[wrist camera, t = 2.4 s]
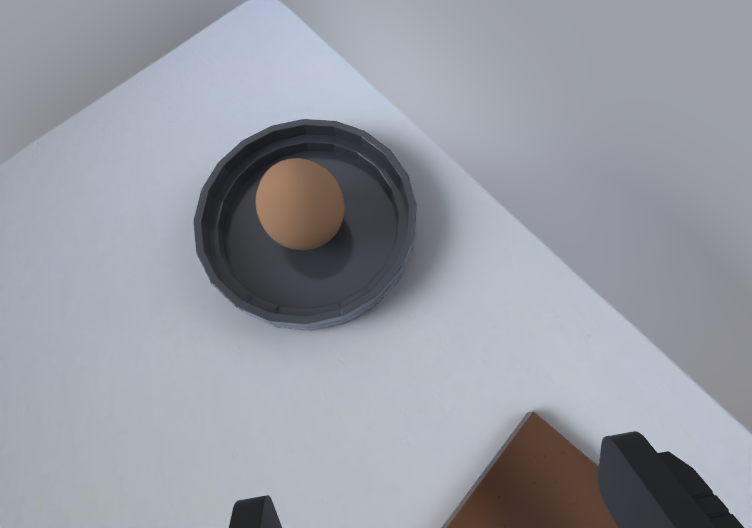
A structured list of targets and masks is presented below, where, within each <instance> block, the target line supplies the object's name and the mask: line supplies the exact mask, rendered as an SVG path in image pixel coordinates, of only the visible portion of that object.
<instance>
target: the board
mask: <svg viewBox="0 0 752 528" xmlns="http://www.w3.org/2000/svg"><path fill="white" fill-rule="evenodd" d="M598 471H599V466H597V465H596V464H595V463H594V462H593V461H592V460H590V459H589V458H588V457H587V456H586V455H584V454H583V453H582V452H581V451H580V450H578V449H577V448H576V447H575V446H574V445H572V444H571V443H570V442H569V441H568V440H567V439H565V438H564V437H563V436H562V435H561V434H559V433H558V432H557V431H556V430H555V429H553V428H552V427H551V426H550V425H549V424H547V423H546V422H545V421H544V420H543V419H542V418H540V417H539V416H538V415H537V414H536V413H534V412H528V413H527V414H526V416H525V417H524V418H523V420H522V421H521V422H520V424H519V425H518V426H517V428H516V429H515V430H514V432H513V433H512V434H511V436H510V437H509V438H508V440H507V441H506V442H505V444H504V445H503V446H502V448H501V449H500V450H499V452H498V453H497V454H496V456H495V457H494V458H493V460H492V461H491V462H490V464H489V465H488V466H487V468H486V469H485V470H484V472H483V473H482V474H481V476H480V477H479V478H478V480H477V481H476V483H475V484H474V485H473V487H472V488H471V489H470V491H469V492H468V493H467V495H466V496H465V497H464V499H463V500H462V501H461V503H460V504H459V505H458V507H457V508H456V509H455V511H454V512H453V513H452V515H451V516H450V517H449V519H448V520H447V521H446V523H445V524H444V525H443V527H442V528H619V527H618V526H617V524H616V522H615V521H614V519H613V517H612V516H611V514H610V512H609V511H608V509H607V507H606V505H605V503H604V501H603V499H602V496H601V494H600V490H599V486H598Z"/></svg>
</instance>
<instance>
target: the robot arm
mask: <svg viewBox="0 0 752 528" xmlns="http://www.w3.org/2000/svg"><path fill="white" fill-rule="evenodd" d="M598 486H599V490H600V494H601V496H602V499H603V501H604V503H605V505H606V507H607V509H608V511H609V512H610V514H611V516H612V517H613V519H614V521H615V522H616V524H617V526H618V527H619V528H744V527H743V526H742V525H741V523H740V522H739V521H738V520H737V519H736V518H735V516H734V515H733V514H732V515H731V514H730V513H729V511H728V510H729V509H728V508H727V507H726V506H725V505H724V504H723V502H722V501H721V500H720V499H719V498H718V497H717V496H716V495H714V494H713V492H712V490H711V489H710V487H709V486H708V485H707V484H706V483H705V482H704V480H703V479H702V478H701V477H700V476H699V475H698V473H697V472H696V471H695V470H694V469H693V468H692V467H690V466H689V465H687V464H686V463H685V462H683V461H682V460H680V459H679V458H677V457H676V456H674V455H673V454H672V453H670V452H669V451H668V452H662V453H657V452H656V451H655V450H654V448H653V447H652V446H651V445H650V443H649V442H648V441H647V440H646V438H645V437H644V436H643V435H642V434H640V433H639V432H636V431H634V432H628V433H623V434H617V435H612V436H606V437H604V438H603V440H602V445H601V453H600V462H599V471H598ZM229 528H282V526H281V523H280V521H279V518H278V515H277V513H276V510H275V507H274V505H273V502H272V499H271V497H270V496H269V495H267V496H261V497H255V498H250V499H244V500H239V501H237V502H236V503H235V505H234V507H233V511H232V516H231V520H230V525H229Z"/></svg>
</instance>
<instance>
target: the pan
mask: <svg viewBox="0 0 752 528" xmlns="http://www.w3.org/2000/svg"><path fill="white" fill-rule="evenodd" d="M295 158H301V159H307V160H310V161H312V162H315V163H317V164H319V165H321V166H322V167H324V168H325V169H327V170H328V171H329V172H330V173H331V175H332V176H333V177H334V178H335V180H336V181H337V182H338V184H339V187H340V189H341V192H342V194H343V199H344V204H345V209H344V218H343V221H342V224H341V226H340V228H339V230H338V232H337V233H336V235H335V236H334V237H333V238H332V239H331V240H330V241H329V242H327V243H326V244H324V245H322V246H321V247H318V248H315V249H311V250H294V249H289V248H287V247H284V246H282V245H281V244H279V243H278V242H276V241H274V240H273V239H272V238H271V237H270V236H269V235H268V234H267V232H266V231H265V229H264V228H263V226H262V224H261V222H260V219H259V217H258V214H257V209H256V193H257V190H258V187H259V184H260V181H261V179H262V178H263V176H264V175H265V173H266V172H267V171H268V170H269V169H270V168H271V167H272V166H273V165H275V164H277V163H279V162H280V161H283V160H287V159H295ZM415 219H416V202H415V198H414V195H413V191H412V188H411V184H410V180H409V177H408V174H407V173H406V172H405V170H404V169H403V167H402V166H401V164H400V163H399V162H398V160H397V159H396V157H395V156H394V154H393V153H392V152H391V150H390V149H388V148H387V147H386V146H384V145H383V144H381V143H380V142H379V141H377V140H376V139H375V138H373V137H372V136H371V135H369V134H368V133H367V132H365V131H363V130H360V129H357V128H354V127H351V126H348V125H346V124H343V123H340V122H337V121H336V122H335V121H326V120H309V119H304V120H303V119H302V120H297V121H292V122H287V123H283V124H278V125H273V126H270V127H268V128H266V129H264V130H262V131H260V132H258V133H256V134H254V135H252V136H250V137H249V138H247V139H245V140H243V141H241V142H240V143H239V144H238V145H237V146H236V147H235V148H234V149H233V150H231V151H230V152H229V153H228V154H227V155H226V156H225V157H224V158H223V159H222V160H220V161H219V163H218V164H217V165H216V167H215V169H214V170H213V172H212V173H211V175H210V177H209V178H208V180H207V182H206V183H205V185H204V186H203V188H202V190H201V193H200V197H199V201H198V205H197V210H196V214H195V218H194V231H195V241H196V252H197V255H198V257H199V259H200V261H201V263H202V265H203V268H204V270H205V272H206V274H207V276H208V278H209V280H210V282H211V284H213V285H214V286H215V287H216V288H217V289H218V290H219V291H220V292H221V293H222V294H223V295H224V296H225V297H226V298H227V299H228V300H229V301H230V302H231V303H232V304H234V305H235V306H236V307H237V308H239V309H240V310H242V311H243V312H245V313H246V314H248V315H250V316H252V317H255V318H257V319H259V320H261V321H264V322H266V323H268V324H270V325H273V326H275V327H278V328H289V329H300V330H316V329H320V328H325V327H329V326H334V325H338V324H343V323H346V322H348V321H350V320H352V319H353V318H355V317H357V316H359V315H360V314H362V313H364V312H365V311H367V310H369V309H371V308H372V307H374V306H376V304H378V303H379V302H380V301H381V300H382V299H383V297H384V296H385V295H386V294H387V293H388V292H389V291H390V290H391V289H392V287H393V286H394V285H395V284H396V283H397V282H398V281H399V279H400V278H401V275H402V273H403V271H404V269H405V266H406V264H407V262H408V259H409V257H410V255H411V252H412V250H413V243H414V232H415Z"/></svg>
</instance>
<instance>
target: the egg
mask: <svg viewBox="0 0 752 528" xmlns="http://www.w3.org/2000/svg"><path fill="white" fill-rule="evenodd" d="M256 209H257V214H258V217H259V219H260V222H261V224H262V226H263V228H264V229H265V231H266V232H267V234H268V235H269V236H270V237H271V238H272V239H273V240H274V241H276V242H278V243H279V244H281V245H282V246H284V247H287V248H289V249H294V250H311V249H315V248H318V247H321V246H322V245H324V244H326V243H327V242H329V241H330V240H331V239H332V238H333V237H334V236H335V235H336V233H337V232H338V230H339V228H340V226H341V224H342V221H343V218H344V209H345V204H344V199H343V194H342V192H341V189H340V187H339V184H338V182H337V181H336V180H335V178H334V177H333V176H332V175H331V173H330V172H329V171H328V170H327V169H325V168H324V167H322V166H321V165H319V164H317V163H315V162H312V161H310V160H307V159H301V158H295V159H287V160H283V161H280V162H279V163H277V164H275V165H273V166H272V167H271V168H270V169H269V170H268V171H267V172H266V173H265V175H264V176H263V178H262V179H261V181H260V184H259V187H258V190H257V193H256Z"/></svg>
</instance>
